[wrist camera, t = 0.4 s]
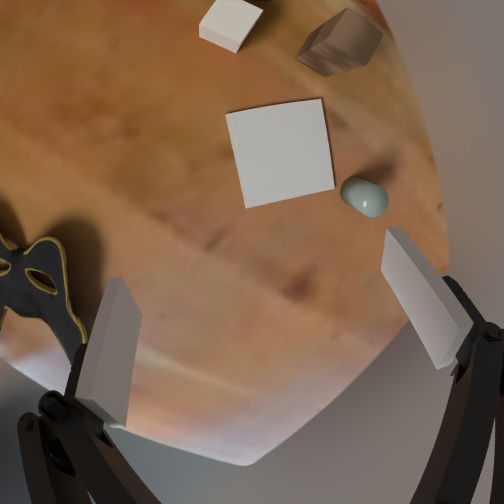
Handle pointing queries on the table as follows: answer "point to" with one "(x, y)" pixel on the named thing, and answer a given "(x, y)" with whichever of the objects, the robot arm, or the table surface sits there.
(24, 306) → the mask
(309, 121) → the grey pad
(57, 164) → the table surface
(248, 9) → the cream cube
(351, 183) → the sage green capsule
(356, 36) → the walnut block
